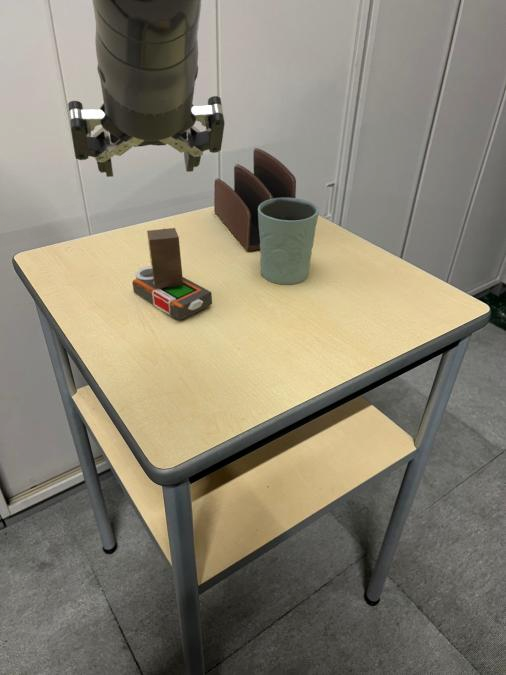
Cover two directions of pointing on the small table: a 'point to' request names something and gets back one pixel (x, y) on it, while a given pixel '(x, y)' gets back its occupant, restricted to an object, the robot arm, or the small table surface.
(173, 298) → the electronic device
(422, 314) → the small table surface
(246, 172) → the letter holder
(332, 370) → the small table surface
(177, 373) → the small table surface
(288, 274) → the green cup
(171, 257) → the walnut block
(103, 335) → the small table surface
